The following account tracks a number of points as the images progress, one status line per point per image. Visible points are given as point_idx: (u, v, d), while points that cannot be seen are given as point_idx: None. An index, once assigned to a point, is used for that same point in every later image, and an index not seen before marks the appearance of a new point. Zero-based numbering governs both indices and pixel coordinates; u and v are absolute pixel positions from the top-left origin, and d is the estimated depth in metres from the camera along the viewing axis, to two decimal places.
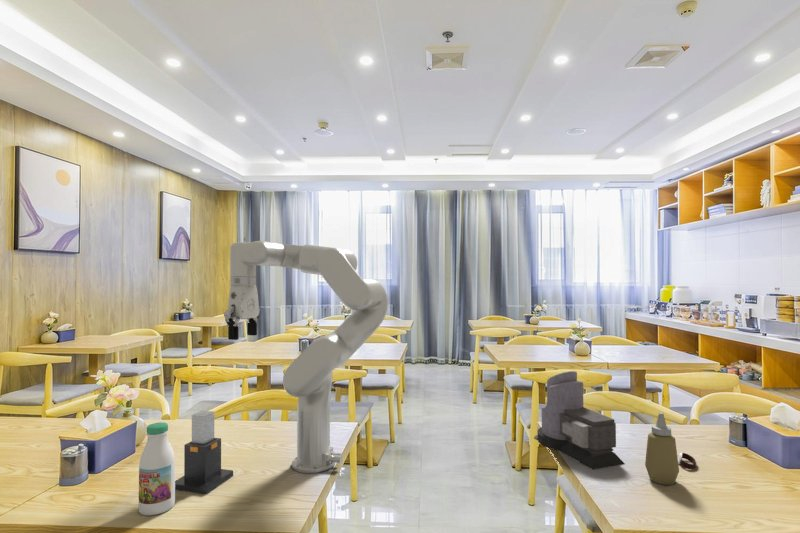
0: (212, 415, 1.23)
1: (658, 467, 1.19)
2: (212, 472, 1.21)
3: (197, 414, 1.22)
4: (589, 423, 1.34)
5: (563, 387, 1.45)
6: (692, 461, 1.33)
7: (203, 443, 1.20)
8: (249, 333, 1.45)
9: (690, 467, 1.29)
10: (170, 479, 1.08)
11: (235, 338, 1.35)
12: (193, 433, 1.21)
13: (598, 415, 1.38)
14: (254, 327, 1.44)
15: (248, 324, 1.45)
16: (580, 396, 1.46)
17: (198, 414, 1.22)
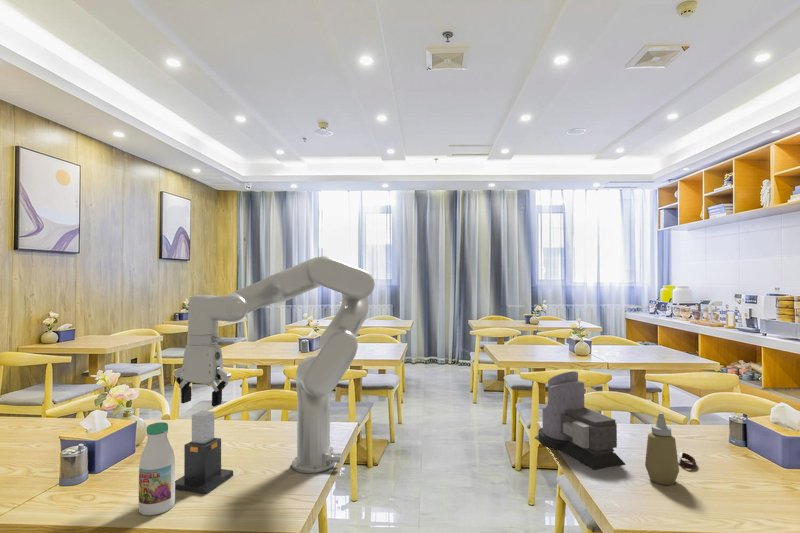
0: (212, 415, 1.23)
1: (658, 467, 1.19)
2: (212, 472, 1.21)
3: (197, 414, 1.22)
4: (590, 423, 1.33)
5: (564, 387, 1.44)
6: (692, 461, 1.33)
7: (203, 443, 1.20)
8: (185, 400, 1.23)
9: (690, 467, 1.29)
10: (170, 479, 1.08)
11: (219, 403, 1.22)
12: (193, 433, 1.21)
13: (599, 416, 1.37)
14: (190, 391, 1.25)
15: (184, 390, 1.23)
16: (581, 396, 1.46)
17: (198, 414, 1.22)
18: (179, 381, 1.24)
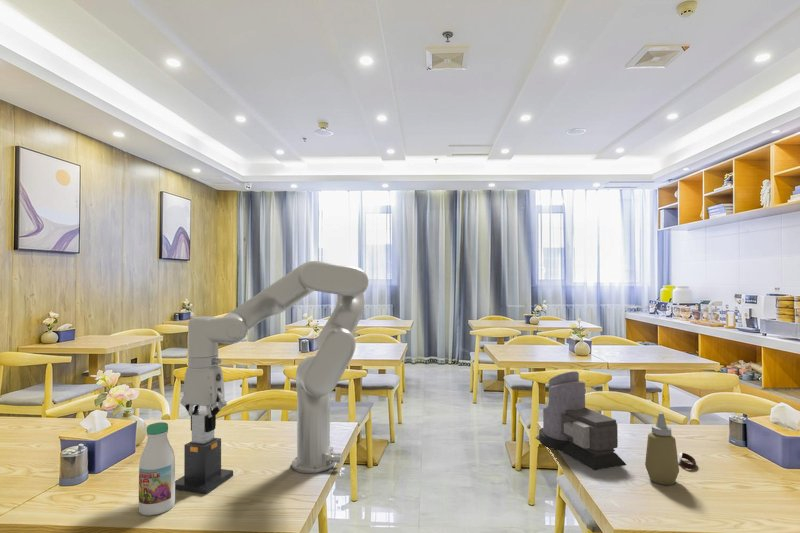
0: None
1: (658, 467, 1.19)
2: (212, 472, 1.21)
3: (197, 414, 1.22)
4: (590, 423, 1.33)
5: (565, 388, 1.44)
6: (692, 461, 1.33)
7: (203, 443, 1.20)
8: None
9: (690, 467, 1.29)
10: (170, 479, 1.08)
11: (213, 428, 1.23)
12: (193, 433, 1.21)
13: (599, 416, 1.37)
14: None
15: None
16: (582, 396, 1.45)
17: (198, 414, 1.22)
18: (188, 408, 1.23)
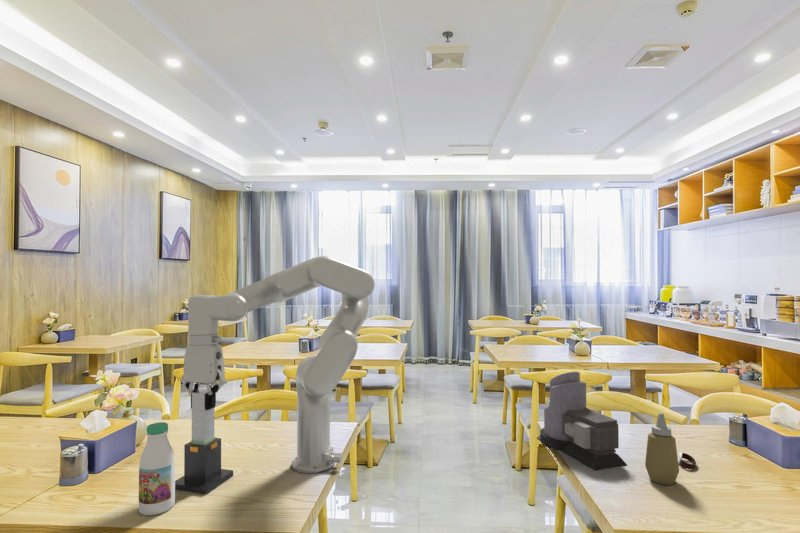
0: None
1: (658, 467, 1.19)
2: (212, 472, 1.21)
3: (197, 392, 1.22)
4: (591, 424, 1.33)
5: (566, 388, 1.44)
6: (692, 461, 1.33)
7: (203, 421, 1.20)
8: None
9: (690, 467, 1.29)
10: (170, 479, 1.08)
11: (213, 406, 1.23)
12: (193, 411, 1.21)
13: (600, 416, 1.37)
14: None
15: None
16: (583, 397, 1.45)
17: (198, 392, 1.22)
18: (188, 386, 1.23)
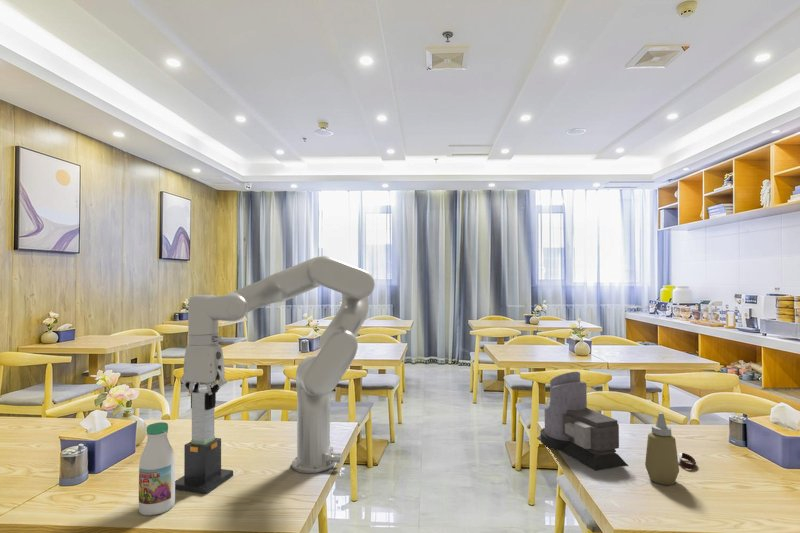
0: None
1: (658, 467, 1.19)
2: (212, 472, 1.21)
3: (197, 392, 1.22)
4: (592, 424, 1.33)
5: (566, 388, 1.44)
6: (692, 461, 1.33)
7: (203, 420, 1.20)
8: None
9: (690, 467, 1.29)
10: (170, 479, 1.08)
11: (213, 406, 1.23)
12: (193, 411, 1.21)
13: (601, 416, 1.37)
14: None
15: None
16: (583, 397, 1.45)
17: (198, 392, 1.22)
18: (188, 386, 1.23)
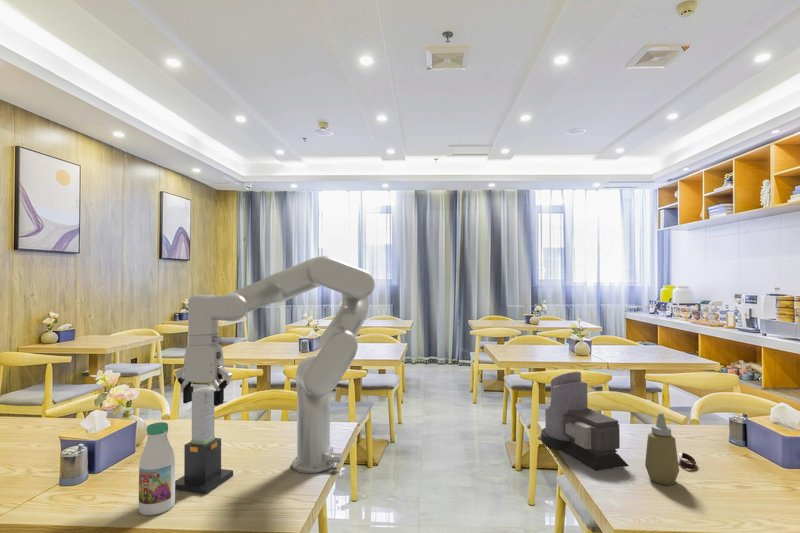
0: (212, 393, 1.23)
1: (658, 467, 1.19)
2: (212, 472, 1.21)
3: (197, 392, 1.22)
4: (592, 424, 1.33)
5: (567, 388, 1.44)
6: (692, 461, 1.33)
7: (203, 420, 1.20)
8: (187, 400, 1.23)
9: (690, 467, 1.29)
10: (170, 479, 1.08)
11: (221, 402, 1.22)
12: (193, 411, 1.21)
13: (601, 416, 1.37)
14: (192, 391, 1.25)
15: (186, 390, 1.23)
16: (584, 397, 1.45)
17: (198, 392, 1.22)
18: (181, 381, 1.24)
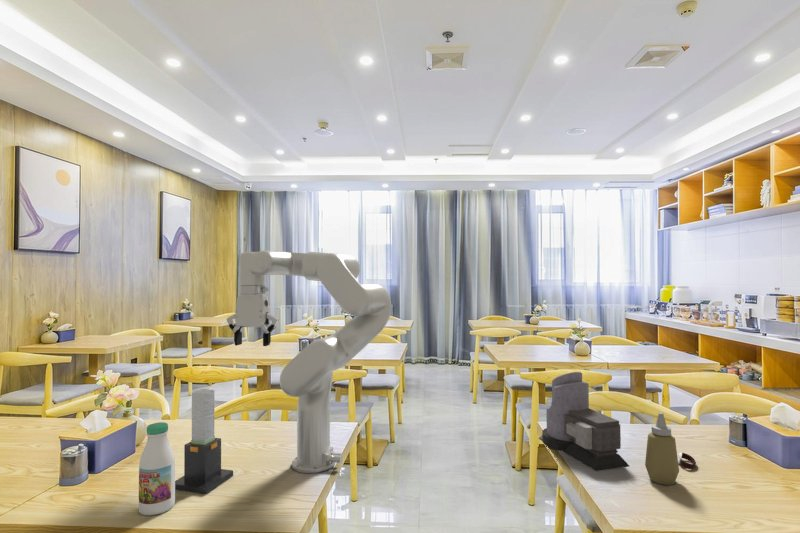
0: (212, 393, 1.23)
1: (657, 467, 1.19)
2: (212, 472, 1.21)
3: (197, 392, 1.22)
4: (593, 424, 1.33)
5: (568, 388, 1.44)
6: (692, 461, 1.33)
7: (203, 420, 1.20)
8: (238, 343, 1.43)
9: (690, 467, 1.29)
10: (170, 479, 1.08)
11: (268, 344, 1.43)
12: (193, 411, 1.21)
13: (602, 417, 1.37)
14: (241, 336, 1.45)
15: (237, 334, 1.43)
16: (585, 397, 1.45)
17: (198, 392, 1.22)
18: (232, 327, 1.43)
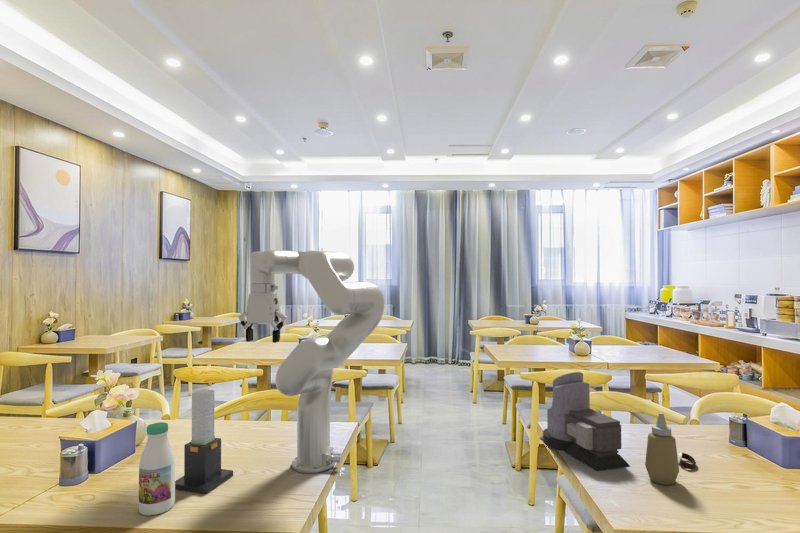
0: (212, 393, 1.23)
1: (658, 467, 1.19)
2: (212, 472, 1.21)
3: (197, 392, 1.22)
4: (594, 424, 1.32)
5: (569, 388, 1.44)
6: (692, 461, 1.33)
7: (203, 420, 1.20)
8: (249, 339, 1.48)
9: (690, 467, 1.29)
10: (170, 479, 1.08)
11: (278, 340, 1.47)
12: (193, 411, 1.21)
13: (603, 417, 1.36)
14: (252, 332, 1.50)
15: (248, 331, 1.48)
16: (586, 397, 1.44)
17: (198, 392, 1.22)
18: (243, 324, 1.49)
